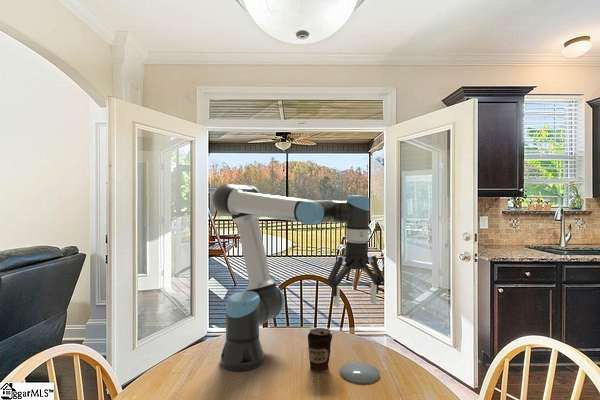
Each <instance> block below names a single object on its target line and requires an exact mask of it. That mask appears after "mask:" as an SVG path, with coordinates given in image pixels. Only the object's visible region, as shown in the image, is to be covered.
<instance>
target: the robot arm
mask: <svg viewBox="0 0 600 400" xmlns="http://www.w3.org/2000/svg"><path fill="white" fill-rule="evenodd" d="M211 199H212V204H213V207H214V208H215V210H217V212H219V213H221V214H223V215H231V216H230V217H231V221H232V222H233V223H235V224H236V226H237V230H238V234H239V235H238V236H239V239H240V245H241V249H242V254H243V259H244V264H245V269H246V273H247V278H248V283H249V284H248V285H247V287H246V290H244V291H243V290H242V291H239V292H235V293H233V294H232V295H230V296H229V297H228V298H227V300H226V304H225V342H224V345H223V348H222V351H221V355H220V365H221V366H222V368H224V369H226V370H228V371H233V372H235V371H236V372H245V371H250V370H254V369H256V368H258V367H260V366H261V365H262V364H263V363H264V361H265V353H264V351H263V350H264V349H263V347H262V343H261V341H260V325H263V324H265V323H266V322H268V321H270V320H273V319H275V318H276V317H277V316H279V315H280V314H282V311H283V310H284V308H285V304H286V299H285V294H284V292H283V291H282V289H281V288H279V287H278V286H277V284H276V283H277V282H276V281H275V280H274V279H272V277H271V272H270V268H269V264H268V260H267V259H268V258H267V253H266V251H265V245H264V240H263V236H262V235H263V234H262V231H261V227H260V221H259V218H260V217H266V218H267V217H268V218H273V219H279V220H285V221H294V222H298V223H301V224H303V225H308V226H315V225H319V224H325V223H343V224H345V225H346V226H345V229H346V230H345V241H346V242H345V250H344V251H345V255H344V256H340V255H337V256H336V258H335V259H336V260H335V262H334V264H333V267H332V269H331V271H330V273H329V274H328V277H327V279H326V284H327V285H329V286H331V295H332V297H333V305H334V307H336V308H339V307H340V289H341V287H340V286H339V285H340V284H341V282H342V281H343V279H344V278H345V277H346V276H347V274H349V272H351V270H353V271H355V270H363V271H364V272H365V274H366V275H367V277H368V278H369V279H370V280H371V283H370V294H369V295H370V296H369V298H370V299H369V303H371V304H373V305H377V294H379V287H380V285H381V283H384V282H385V279H384V276H383V274H382V271H381V269H380V267H379V264H378V262H377V260H378V259H377V256H376V255H374V254H370V255H369V254H368V253H369V242H368V241H369V236H370V235H369V232H370V231H369V230H370V229H369V228H370V227H369V226H370V211H371V208H370V198H369V196H367V195H351V194H349V195H347V197H346V200H332V199H331V200H330V199H319V200H315V199H313V200H312V199H306V198H297V197H289V196H288V197H287V196H281V195H273V194H272V195H271V194H266V193H265V194H263V193H262V192H261V191H260V190H259V189H258V187H256V186H253V185H249V184H233V183H232V184H231V183H226V184H222V185H220V186H219V187H217V188H216V189H215V190H214V192H213V194H212V198H211ZM344 262H345V264H344V265H343V267H342V264H343V263H344ZM368 262H370V266H371V268H372V270H373V271H372V270H371V269H370V267H369V266H368V264H367V263H368ZM341 267H342V269H341ZM373 272H374V273H373Z"/></svg>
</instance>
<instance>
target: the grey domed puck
mask: <svg viewBox="0 0 600 400" xmlns="http://www.w3.org/2000/svg"><path fill="white" fill-rule="evenodd" d="M339 375H340V376H341V377H342V378H343V379H344V380H345V381H348V382H351V383H353V384H361V385H362V384H363V385H365V384H366V385H367V384H371V383H375V382H377V381H378V380H379V379H380V370H379V369H378V368H377V367H376V366H375V365H372V364H371V363H367V362H364V361H350V362H346V363H344V364H342V365H341V366H340V368H339Z"/></svg>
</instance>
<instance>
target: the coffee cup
mask: <svg viewBox="0 0 600 400" xmlns="http://www.w3.org/2000/svg"><path fill="white" fill-rule="evenodd" d="M332 341H333V334H332V333H331V330H330V329H328V328H324V327H319V328H317V327H316V328H311V329H310V330H309V333H308V334H307V343H308V346H307V347H308V359H309V368H310V369H309V370H310V371H312V372H313V373H317V374H319V373H320V374H323V373H326V372H329V369H330V367H329V362H330V356H331V345H332Z"/></svg>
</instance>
